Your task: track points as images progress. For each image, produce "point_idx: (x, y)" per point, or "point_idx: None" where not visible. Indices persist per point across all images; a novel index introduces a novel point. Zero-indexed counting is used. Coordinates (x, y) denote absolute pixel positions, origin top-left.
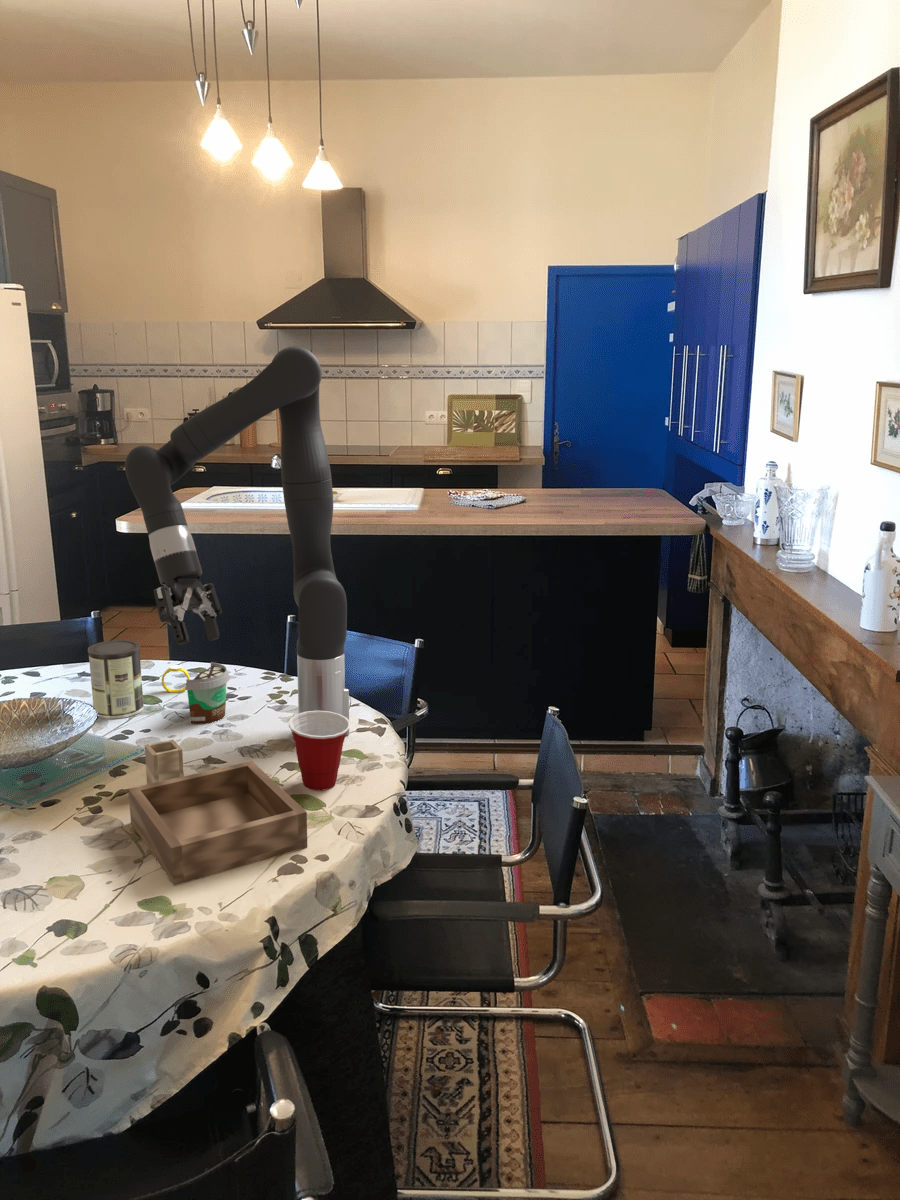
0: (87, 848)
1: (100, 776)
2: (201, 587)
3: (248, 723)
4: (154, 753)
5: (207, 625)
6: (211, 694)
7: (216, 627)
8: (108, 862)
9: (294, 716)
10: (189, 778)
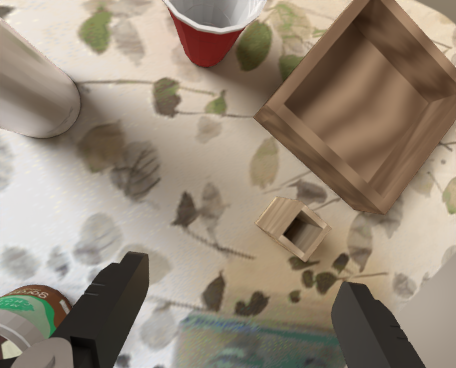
0: (405, 217)
1: (272, 315)
2: None
3: (38, 234)
4: (325, 230)
5: (116, 342)
6: (26, 313)
7: (114, 285)
8: (418, 183)
9: (207, 28)
10: (339, 159)
